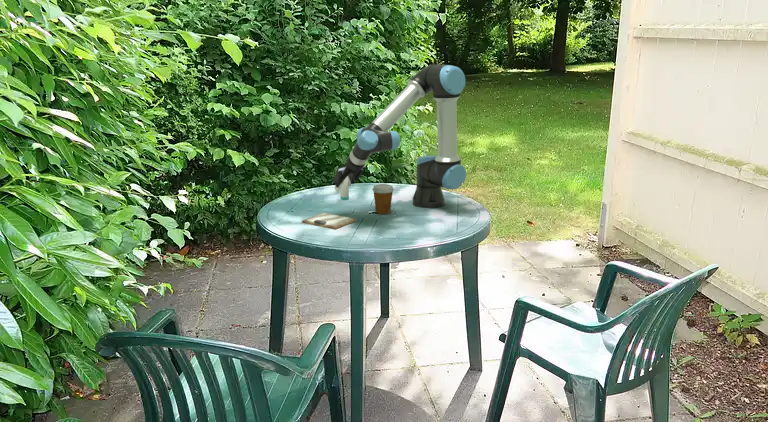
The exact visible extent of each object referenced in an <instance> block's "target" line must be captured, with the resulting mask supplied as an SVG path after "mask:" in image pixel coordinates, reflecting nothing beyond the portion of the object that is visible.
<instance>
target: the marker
mask: <svg viewBox="0 0 768 422" xmlns="http://www.w3.org/2000/svg"><path fill="white" fill-rule="evenodd" d="M348 178H349V176H347V177H346V179H345V180H344V181H343V182H342V186H341V188H340V190H339V191H340V200H341V201H348V200H350V195H349V193H350V191H349V190H350V189H349V188H350V187H348Z"/></svg>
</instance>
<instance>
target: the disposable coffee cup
mask: <svg viewBox="0 0 768 422" xmlns="http://www.w3.org/2000/svg"><path fill="white" fill-rule="evenodd" d="M393 187H394V186H393V185H392V184H386V183H383V184H381V183H378V184H375V185H373V188H372V192H373V197H374V198H373V199H374V207H375V213H377V214H378V215H388V214H390V213H391V207H392V200H393V194H394V193H393V192H394V190H395V189H394V188H393Z"/></svg>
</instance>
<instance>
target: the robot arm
mask: <svg viewBox="0 0 768 422" xmlns="http://www.w3.org/2000/svg"><path fill="white" fill-rule="evenodd" d="M465 87H466V76H465V73H464V72H463V70H462V69H461V68H460V67H458V66H455V65H451V64H450V65H449V64H430V65H427V66H425V67H423V68H422V69H420V70H419V71H418V72H417V73H415V75H413V76H412V78H410V80H408V82H407V86H406V87H405V88H404V89H403V90H402V91H401V92H400V93H399V94H398V95H397V96H396V97H395V98H394V99H393V100H392V101H391V102H390V103H389V104H388V105H387V107H385V108H384V110H382V112H381V113H379V114H378V115H377V116H376V117H375V118H374V120H373V121H372V122H371V123H370V124H368V126H366V127H365V126H364V127H361V128H359V129H358V131H357V132H356V142H355V144H354V146H353V148H352V150H351V151H350V153H349V155H348V157H347V159H346V163H345V164H344V165H343V167H337V168H336V169H337V171H336V174H335V175H334V178H333V180H334V184H335V185H334V189H335V192H336V194H337V193H339V191H340V188H341V186H342V182H343V181H344V180H345V179H346V177H347V176H348V188H350V186H351V185H354V184H355V182H358V181H359V179H360V178H361V176H362V175H363V174H364V172H365V171H366V170H367V166H366V163H367V161H368V159H369V157H370V156H371V155H372V154H376V153H382V152H386V151H392V150H396V149H398V148H400V145H401V136H400V134H399V132H397V131H395V130H392V131H391V130H390V129H391V128H392V127H393V126H394V125H395V124H396V123H397V122H398V121H399V120H400V119H401V117H403V116H404V115H405V114H406V113H407V111H409V110H410V109H411V108H412V106H414V104H415V103H417V101H418V100H419V99H420V98H424V97H426V95H427V94H430V93H432V96H433V98H432V99H434V100H435V101H436V117H437V118H436V123H437V124H436V125H437V127H436V128H437V154H436V155H435V154H434V155H433V154H431V155H429V154H428V155H422V156H418V157H417V158H416V159H417V160H416V164H415V165H416V186H415V191H414V193H413V197H412V205H414V206H416V207H419V208H428V209H429V208H430V209H431V208H433V209H434V208H440V207H444V205H445V196H444V193H443V190H442V188H444V189H446V190H452V191H453V190H457V189H459V188H460V187H461V186H462V185H463V184H464V183H465V181H466V178H467V169H466V168H465V167H464V165H462V158H461V157H460V156H459V154H458V120H457V119H458V117H457V116H458V113H457V112H458V110H457V108H458V107H457V106H458V105H457V104H458V102H457V101H458V99H460V98H461V93H462V92H463V91H464V88H465Z"/></svg>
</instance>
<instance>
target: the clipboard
mask: <svg viewBox="0 0 768 422" xmlns="http://www.w3.org/2000/svg"><path fill="white" fill-rule="evenodd" d="M357 221H358V219H357V218H354V217H348V216H343V215H338V214H332V213H326V212H322V213H320V214H316V215H314V216H311V217H308V218H305V219H303V220H301V223H302V224H307V225H312V226H317V227H322V228H326V229H331V230H338V229H341V228H342V227H344V226H348V225H350V224H352V223H355V222H357Z"/></svg>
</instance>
